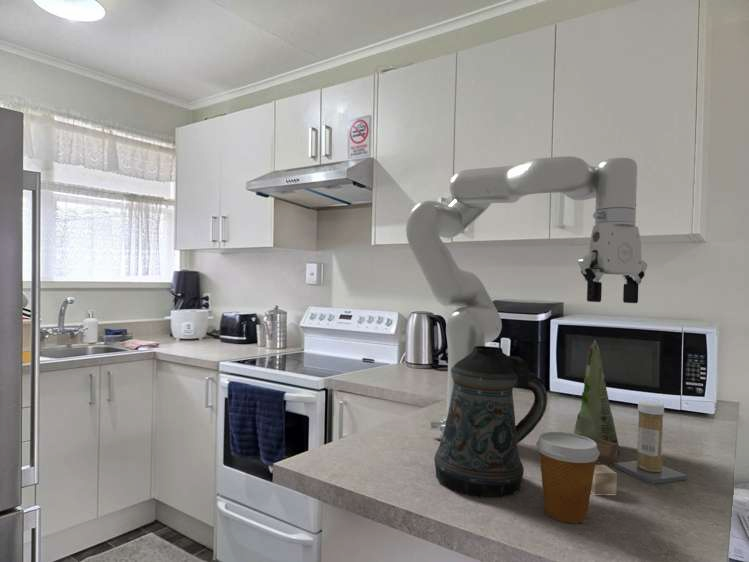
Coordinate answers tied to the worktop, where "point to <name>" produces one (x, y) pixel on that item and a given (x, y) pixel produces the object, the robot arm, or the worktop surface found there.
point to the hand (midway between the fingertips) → (612, 302)
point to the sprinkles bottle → (650, 436)
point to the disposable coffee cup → (567, 474)
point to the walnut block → (606, 452)
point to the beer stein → (487, 424)
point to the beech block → (604, 480)
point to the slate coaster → (651, 473)
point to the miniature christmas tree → (595, 403)
